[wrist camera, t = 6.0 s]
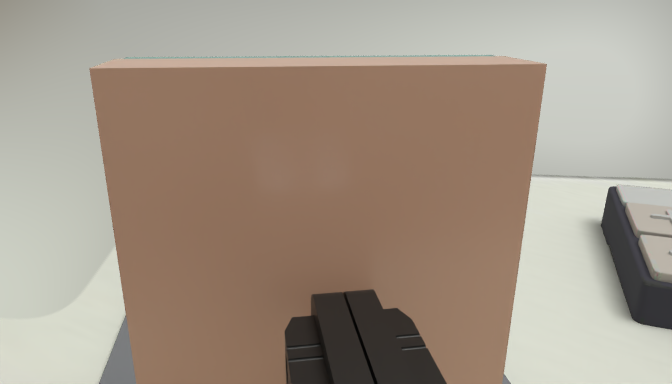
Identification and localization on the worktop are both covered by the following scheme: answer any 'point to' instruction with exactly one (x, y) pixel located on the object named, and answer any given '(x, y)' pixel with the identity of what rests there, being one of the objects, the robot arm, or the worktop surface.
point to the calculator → (642, 249)
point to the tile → (315, 202)
